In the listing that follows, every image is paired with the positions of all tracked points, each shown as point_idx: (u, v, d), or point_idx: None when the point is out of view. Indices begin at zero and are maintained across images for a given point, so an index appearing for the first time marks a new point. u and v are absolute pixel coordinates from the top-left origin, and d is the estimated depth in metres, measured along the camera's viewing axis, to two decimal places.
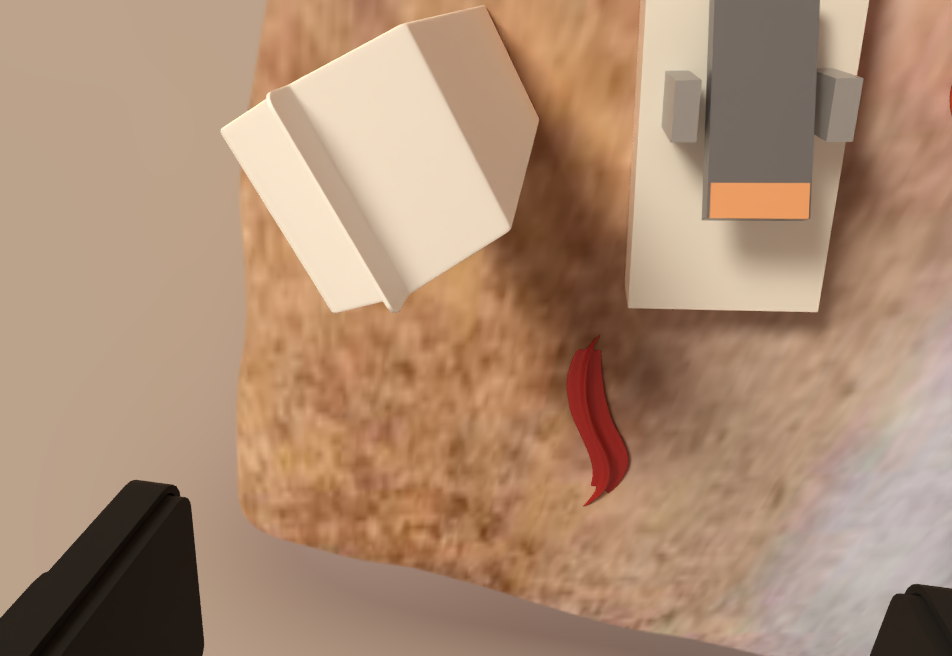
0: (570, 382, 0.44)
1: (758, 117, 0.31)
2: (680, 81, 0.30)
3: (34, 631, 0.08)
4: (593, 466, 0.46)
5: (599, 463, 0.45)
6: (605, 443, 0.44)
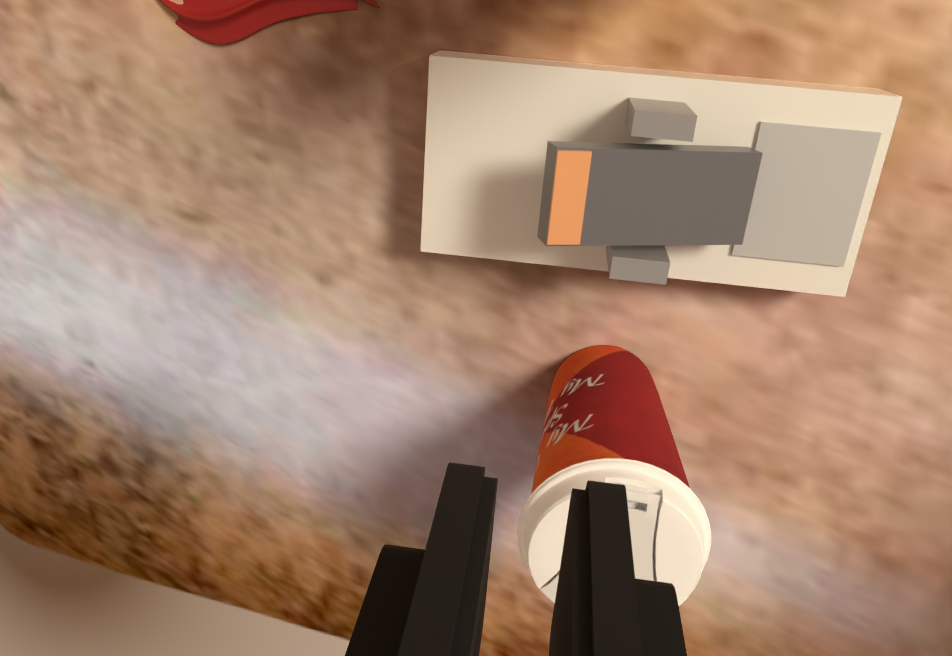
0: None
1: (644, 195, 0.32)
2: (695, 120, 0.30)
3: (447, 593, 0.08)
4: None
5: (211, 6, 0.37)
6: (241, 14, 0.36)
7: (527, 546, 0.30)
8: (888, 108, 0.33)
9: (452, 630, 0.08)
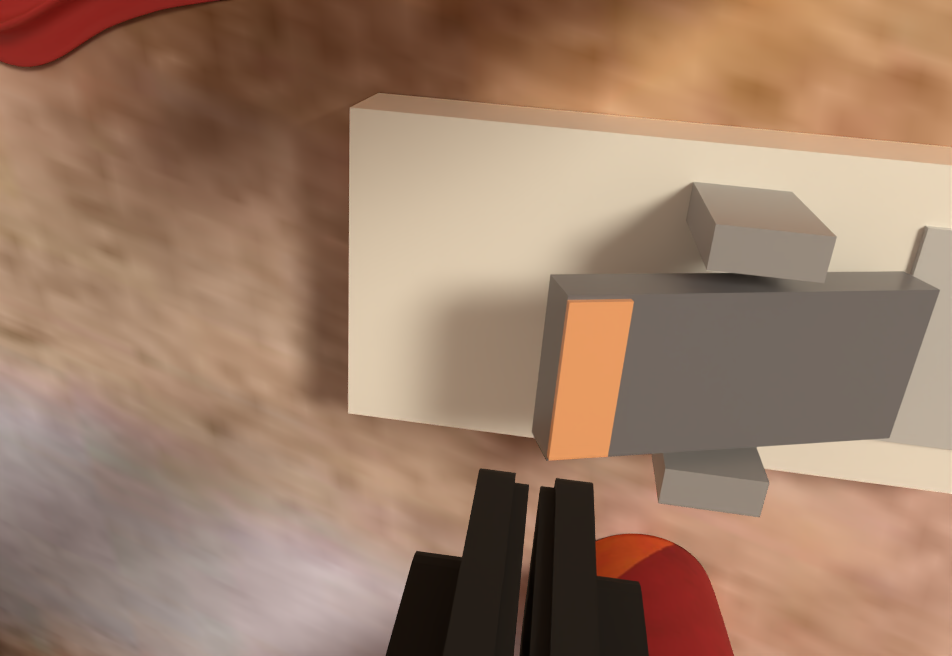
0: None
1: (726, 369, 0.17)
2: (832, 245, 0.16)
3: (487, 602, 0.08)
4: None
5: (7, 7, 0.23)
6: (53, 18, 0.22)
7: None
8: None
9: (495, 641, 0.08)
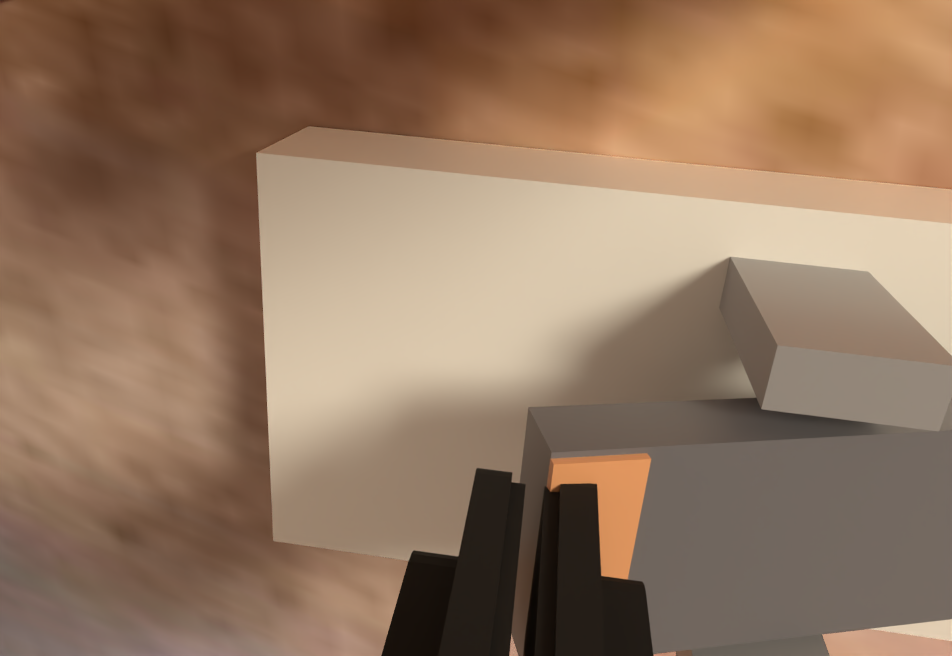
0: None
1: (783, 539, 0.12)
2: None
3: (483, 601, 0.08)
4: None
5: None
6: None
7: None
8: None
9: (491, 640, 0.08)
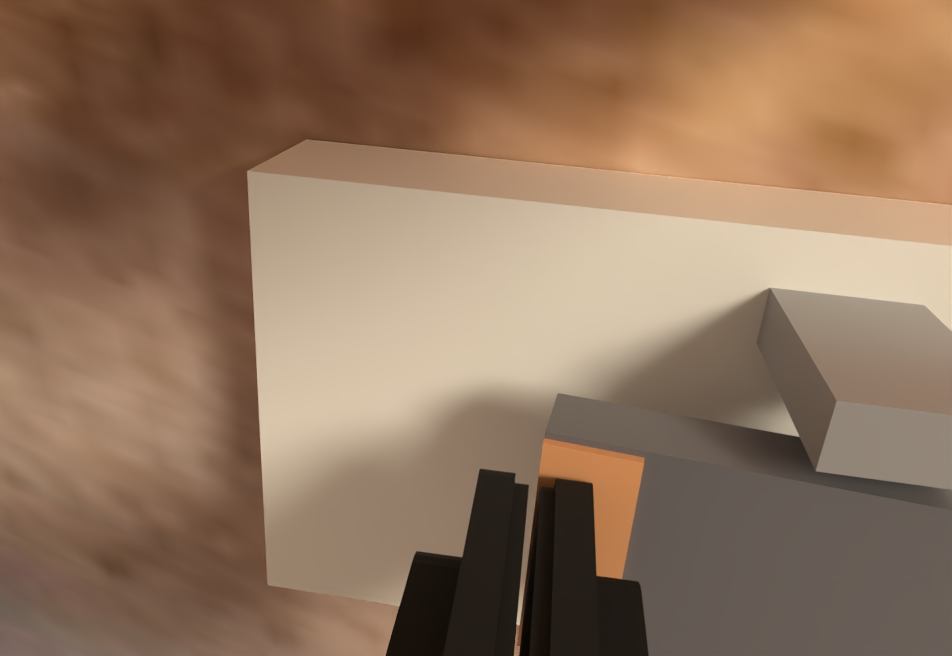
0: None
1: (810, 599, 0.11)
2: None
3: (487, 602, 0.08)
4: None
5: None
6: None
7: None
8: None
9: (495, 640, 0.08)
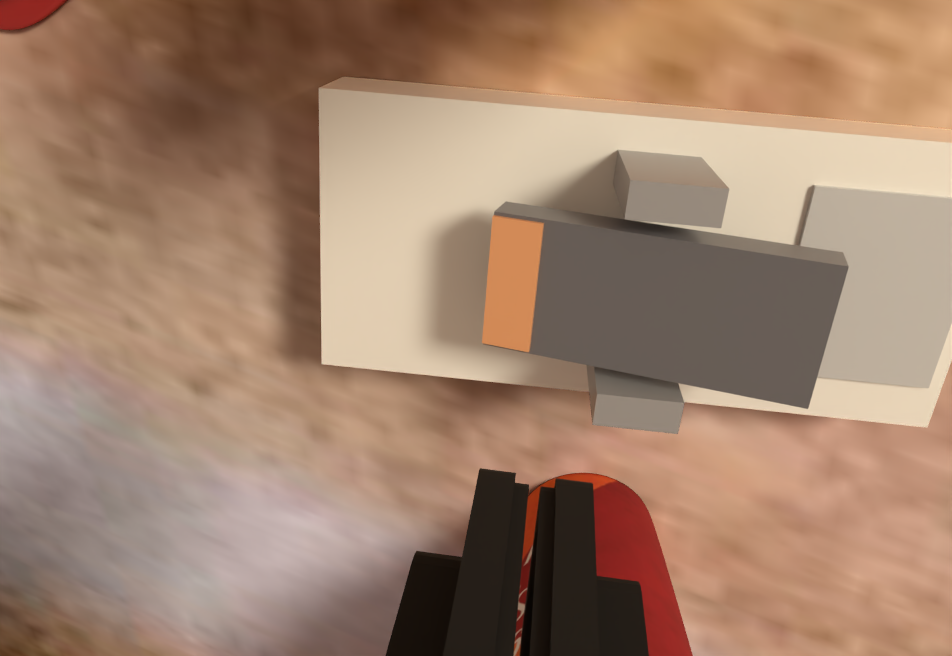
0: None
1: (630, 300, 0.21)
2: (726, 196, 0.19)
3: (487, 602, 0.08)
4: None
5: None
6: None
7: None
8: None
9: (495, 640, 0.08)
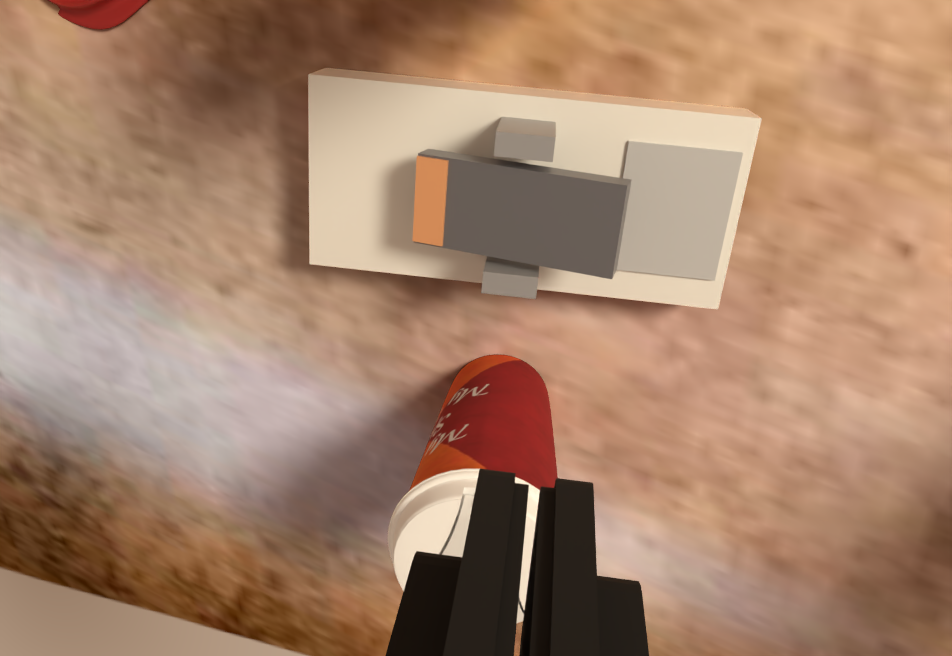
0: None
1: (502, 210, 0.33)
2: (554, 142, 0.31)
3: (487, 602, 0.08)
4: None
5: None
6: None
7: (393, 554, 0.31)
8: (748, 129, 0.34)
9: (495, 641, 0.08)
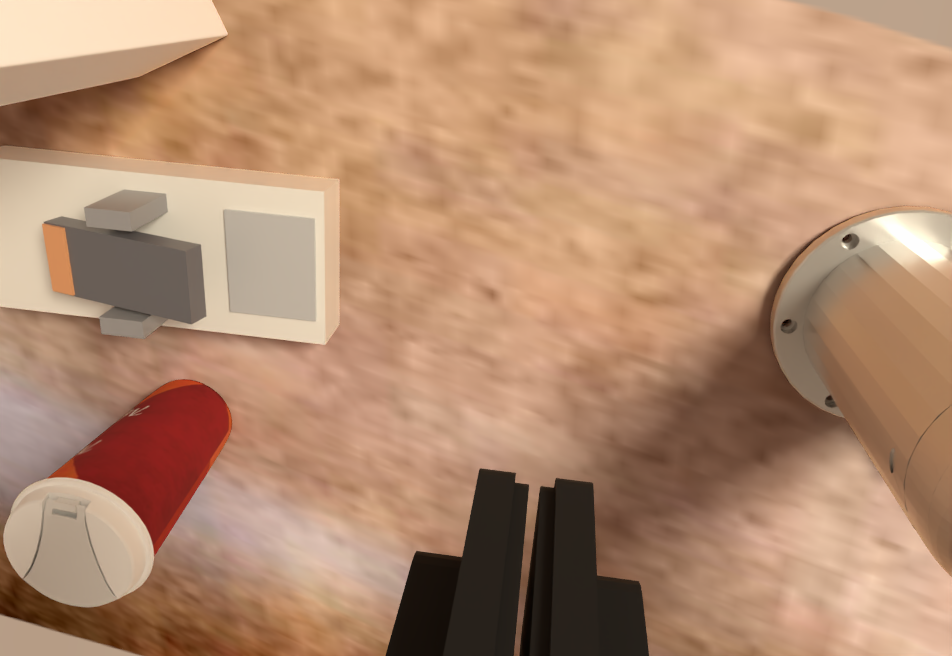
0: None
1: (108, 268, 0.41)
2: (129, 215, 0.39)
3: (487, 602, 0.08)
4: None
5: None
6: None
7: None
8: (316, 200, 0.41)
9: (495, 641, 0.08)
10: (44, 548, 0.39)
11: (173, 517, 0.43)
